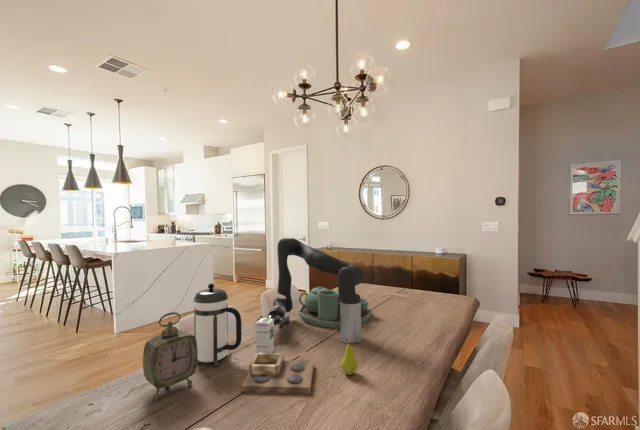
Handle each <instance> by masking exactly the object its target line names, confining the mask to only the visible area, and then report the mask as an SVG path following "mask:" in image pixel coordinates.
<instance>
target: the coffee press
mask: <svg viewBox="0 0 640 430" xmlns="http://www.w3.org/2000/svg"><path fill="white" fill-rule="evenodd" d="M228 299H229V294H227V291H226V290H224V289H222V288H217V287H215V285H214V284H213V283H212V282H211V283H208V284H207V288H206V289H202V290H200V291H199V290H198V292H197V293H196V294H195V296H194V297H193V301H192V302H193V304H194V306H193V328H194V330H193V331H194V332H193V333H194V334H193V335H194V336H195V338H196V342H197V351H198V356H197V363H198V362H200V363H212V364H213V368H218V367H219V363H218V361H220V360H222V359H223V358H225V357H226V356H227V357H231V355H232V353H231V352H230V351H234V350H236V349H238V348H239V347H240V345H241V343H242V332H243V331H242V316H241V313H240V312H239V310H237V309H236V308H234V307H231V306H230V307H229V305H228ZM229 313H231V314H232V315H234V318H235V332H236V333H235V335H236V337H235V338H236V339H235V343H234V344H229V336H228V335H229V332H228V331H229V329H228V327H229V325H228V324H229V323H228V322H229V318H228V317H229V315H228V314H229ZM228 353H229V354H228Z"/></svg>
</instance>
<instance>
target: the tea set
mask: <svg viewBox="0 0 640 430" xmlns="http://www.w3.org/2000/svg"><path fill="white" fill-rule="evenodd" d="M304 295H305V296H304ZM303 296H304V303H303V302H302V297H303ZM298 301H299V303H300V305H302V306H301V307H300V308H299V311H298V317H299V318H300V319H301V320H302V321H303V322H304V323H306V324H310V325H313V326H315V327H321V328H333V329H340V297H339V293H338V290H335V289H328V288H326V287H322V286H320V285H319V286H317V287H313V288H312V289H311V291H310V292H302V293H301V294H299V297H298ZM369 303H370V301H369V300H368V299H365V298H361V325H362V324H365V323H367V322H368V321H369V319H370V318H371V316H372V311H371V309H370V308H369V307H368V305H369Z"/></svg>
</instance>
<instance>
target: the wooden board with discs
mask: <svg viewBox="0 0 640 430" xmlns="http://www.w3.org/2000/svg"><path fill="white" fill-rule="evenodd" d="M314 362H315V361H313V360H309V361H308V360H284V353H280V352H275V353H255V354H254V356H253V357H252V359H251V360H250V363H249V365H248V372H247V373H248V374H247V375H246V377H245V379H244V381H243V383H242V385H241V393H251V394H252V393H254V394H255V393H256V394H257V393H258V394H262V393H263V394H296V395H297V394H302V395H303V394H305V395H306V394H307V395H310V394H311V390H312V384H313V383H312V382H313V377H314V375H313V374H314V369H315V367H314V365H315V363H314Z"/></svg>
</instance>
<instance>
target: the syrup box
mask: <svg viewBox="0 0 640 430" xmlns="http://www.w3.org/2000/svg"><path fill="white" fill-rule="evenodd" d="M255 352H256V353H276V352H275V325H274V319H272V318H266V317H263V318H261V319H260V320H259V321H257V320H256V322H255ZM256 353H255V354H256Z"/></svg>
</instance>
